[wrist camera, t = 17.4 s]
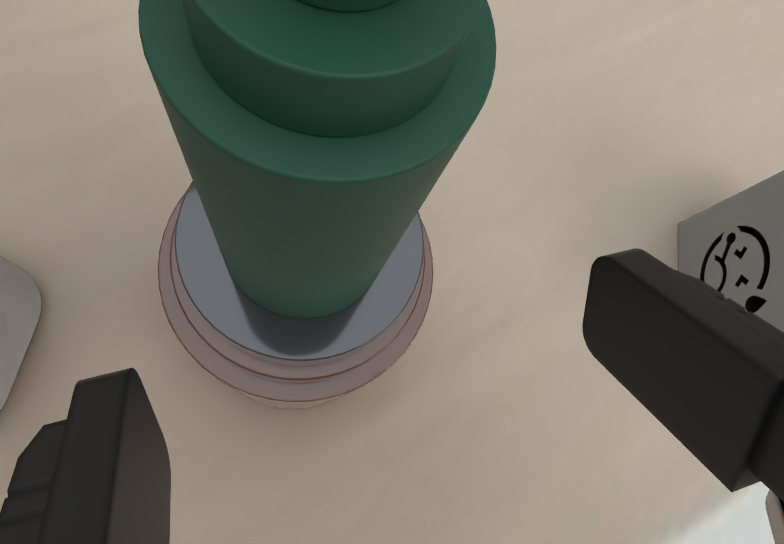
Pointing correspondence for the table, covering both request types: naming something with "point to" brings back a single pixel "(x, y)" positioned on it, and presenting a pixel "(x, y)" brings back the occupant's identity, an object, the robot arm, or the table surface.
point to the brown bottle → (287, 318)
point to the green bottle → (316, 128)
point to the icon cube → (741, 249)
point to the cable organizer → (15, 321)
